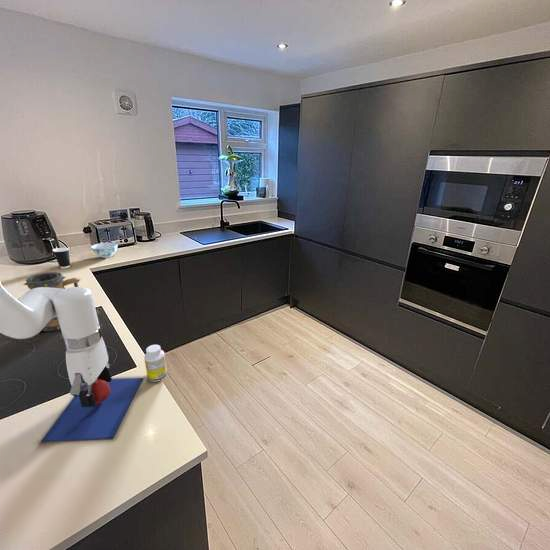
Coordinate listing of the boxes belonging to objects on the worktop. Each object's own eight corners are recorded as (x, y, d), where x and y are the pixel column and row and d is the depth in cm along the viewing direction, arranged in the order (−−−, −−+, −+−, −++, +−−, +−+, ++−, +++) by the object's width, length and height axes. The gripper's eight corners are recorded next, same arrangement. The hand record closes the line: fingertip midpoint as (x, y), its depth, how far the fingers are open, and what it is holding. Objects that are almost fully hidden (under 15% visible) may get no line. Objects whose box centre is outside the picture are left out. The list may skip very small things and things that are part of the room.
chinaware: (98, 253, 197) (96, 242, 194) (122, 252, 200) (120, 242, 197) (90, 260, 184) (87, 249, 181) (115, 259, 186) (113, 248, 183)
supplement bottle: (153, 369, 90) (148, 342, 87) (170, 370, 90) (166, 343, 86) (144, 382, 85) (139, 353, 82) (162, 383, 85) (158, 354, 81)
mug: (37, 322, 114) (22, 275, 107) (87, 310, 124) (76, 266, 117) (37, 337, 105) (21, 287, 98) (91, 322, 115) (80, 276, 108)
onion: (86, 400, 78) (79, 377, 75) (109, 391, 81) (104, 368, 78) (90, 414, 74) (83, 390, 71) (114, 403, 77) (109, 380, 74)
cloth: (41, 441, 67) (41, 440, 67) (87, 380, 85) (87, 379, 85) (113, 438, 68) (113, 437, 68) (143, 379, 86) (142, 377, 86)
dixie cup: (76, 265, 176) (71, 247, 172) (66, 269, 168) (62, 251, 164) (63, 264, 176) (59, 247, 172) (53, 269, 169) (48, 251, 164)
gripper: (86, 319, 78) (99, 371, 84) (42, 360, 61) (62, 421, 68) (115, 318, 78) (125, 370, 85) (79, 359, 62) (96, 419, 68)
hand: (97, 392), depth 76 cm, fingers open, 8 cm apart
